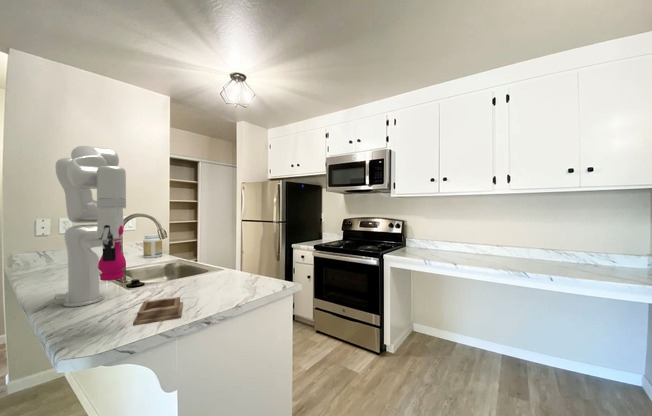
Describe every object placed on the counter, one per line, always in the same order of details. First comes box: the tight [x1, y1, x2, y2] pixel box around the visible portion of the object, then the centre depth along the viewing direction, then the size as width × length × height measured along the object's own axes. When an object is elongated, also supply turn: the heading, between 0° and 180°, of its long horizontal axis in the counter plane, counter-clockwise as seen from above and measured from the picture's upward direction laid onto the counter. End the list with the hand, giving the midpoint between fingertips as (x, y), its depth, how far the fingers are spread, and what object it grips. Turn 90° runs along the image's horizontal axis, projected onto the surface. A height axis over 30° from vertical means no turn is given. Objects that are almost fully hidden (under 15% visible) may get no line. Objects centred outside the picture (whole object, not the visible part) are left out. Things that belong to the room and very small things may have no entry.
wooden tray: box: [132, 296, 184, 326], centre depth 98 cm, size 14×14×4 cm
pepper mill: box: [98, 225, 127, 282], centre depth 88 cm, size 7×7×20 cm
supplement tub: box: [142, 233, 163, 259], centre depth 205 cm, size 12×12×17 cm
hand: (112, 258), depth 88 cm, fingers closed on pepper mill, 5 cm apart
